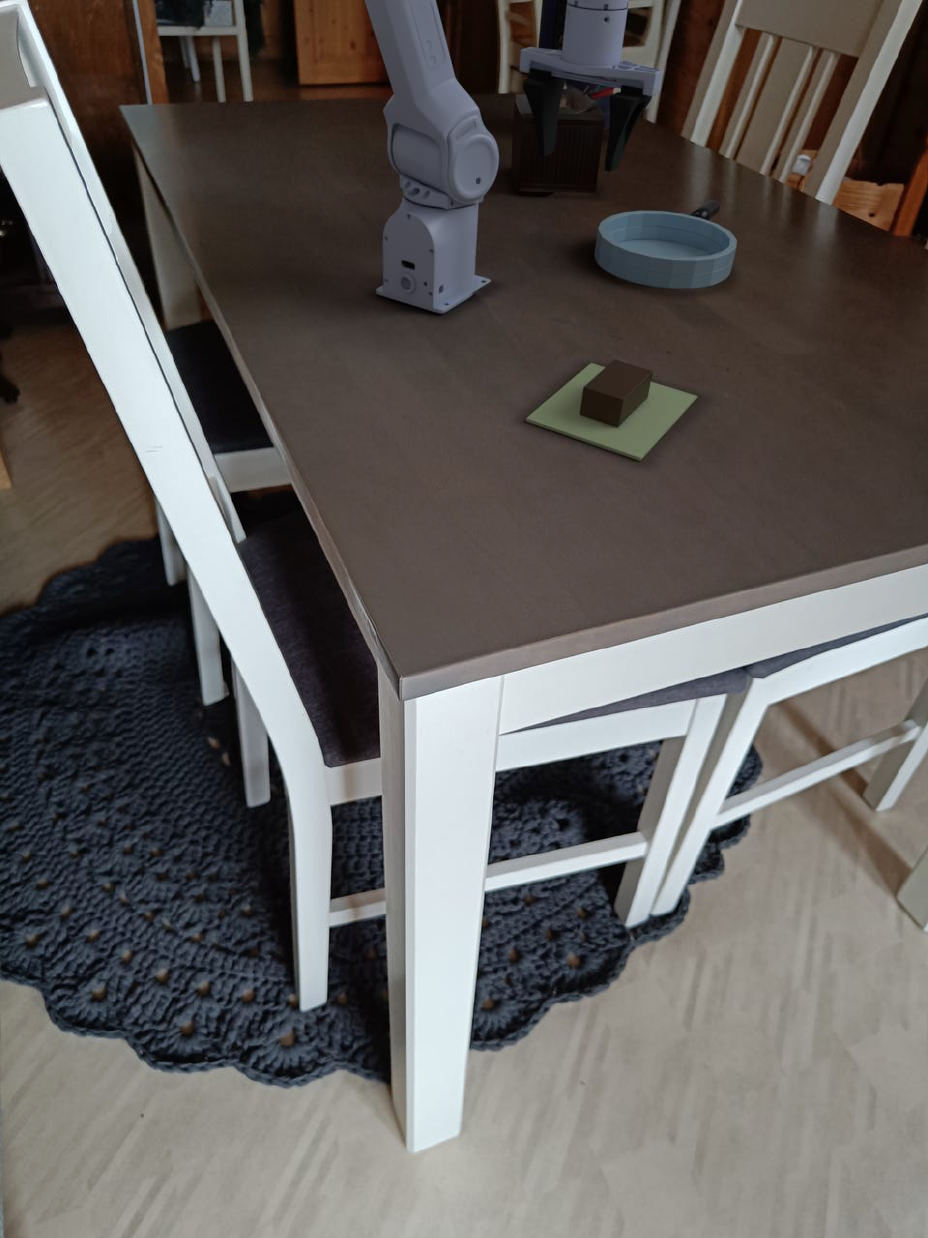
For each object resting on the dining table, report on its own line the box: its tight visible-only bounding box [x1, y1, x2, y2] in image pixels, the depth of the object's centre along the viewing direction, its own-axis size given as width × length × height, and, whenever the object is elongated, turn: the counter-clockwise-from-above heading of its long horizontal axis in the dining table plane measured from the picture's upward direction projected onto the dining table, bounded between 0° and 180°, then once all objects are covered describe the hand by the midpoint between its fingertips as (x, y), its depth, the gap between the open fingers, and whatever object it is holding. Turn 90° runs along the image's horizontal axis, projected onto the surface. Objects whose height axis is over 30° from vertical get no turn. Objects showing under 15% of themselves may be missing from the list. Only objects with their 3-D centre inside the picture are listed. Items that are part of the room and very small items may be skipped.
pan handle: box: [689, 199, 721, 221], centre depth 104 cm, size 8×2×2 cm, turn 148°
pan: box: [593, 210, 738, 290], centre depth 97 cm, size 15×15×4 cm
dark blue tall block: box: [537, 0, 616, 132], centre depth 128 cm, size 14×12×30 cm
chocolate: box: [579, 359, 654, 427], centre depth 74 cm, size 6×4×2 cm, turn 148°
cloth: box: [525, 362, 698, 462], centre depth 74 cm, size 12×10×1 cm
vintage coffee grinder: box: [509, 35, 605, 197], centre depth 114 cm, size 16×11×18 cm
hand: (578, 161), depth 94 cm, fingers open, 7 cm apart
